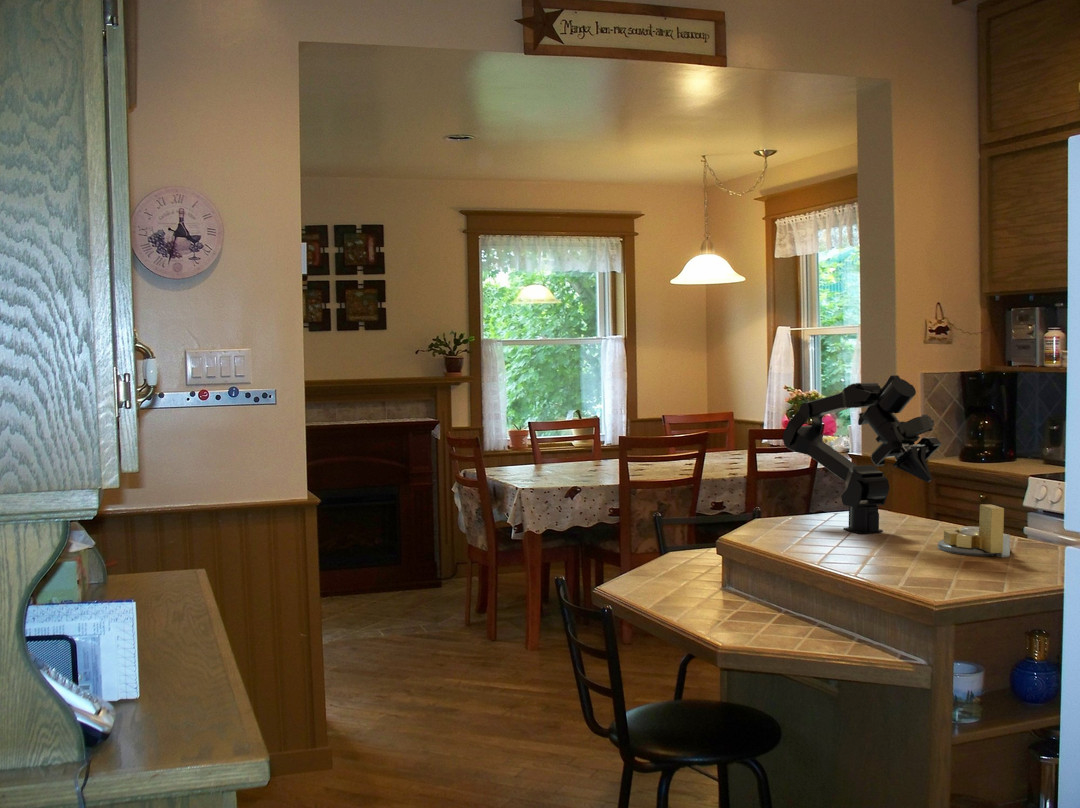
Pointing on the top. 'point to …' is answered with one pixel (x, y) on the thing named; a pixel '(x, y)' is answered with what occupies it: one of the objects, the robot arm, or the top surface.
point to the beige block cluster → (981, 531)
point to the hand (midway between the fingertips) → (929, 480)
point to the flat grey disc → (975, 551)
